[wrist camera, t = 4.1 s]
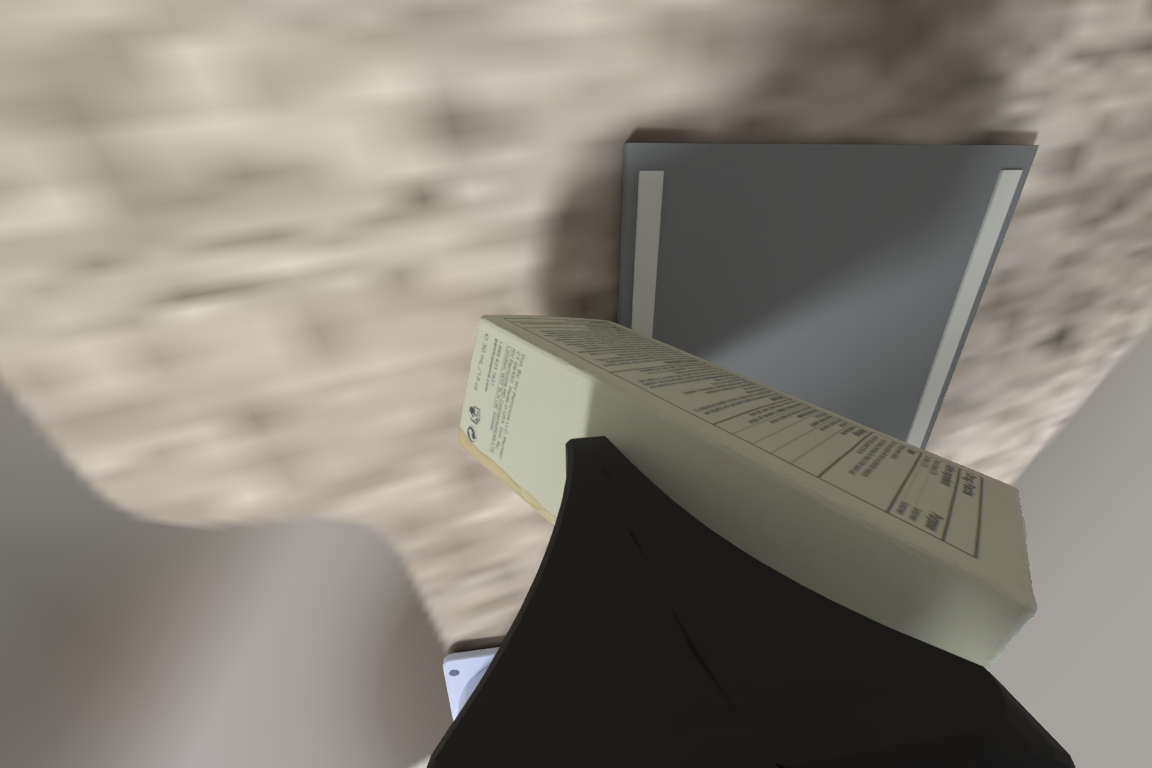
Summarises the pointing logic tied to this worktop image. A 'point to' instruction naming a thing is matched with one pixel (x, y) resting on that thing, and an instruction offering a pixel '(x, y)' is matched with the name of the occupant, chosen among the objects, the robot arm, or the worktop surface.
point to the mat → (819, 264)
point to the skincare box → (758, 475)
